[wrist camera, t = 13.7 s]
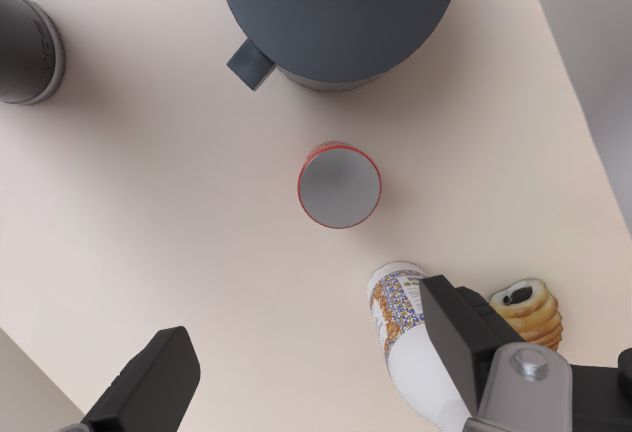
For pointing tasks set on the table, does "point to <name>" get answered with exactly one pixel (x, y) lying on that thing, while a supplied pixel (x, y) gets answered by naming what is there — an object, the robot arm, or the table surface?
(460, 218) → the table surface
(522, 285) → the pastry
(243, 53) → the pot
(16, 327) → the table surface
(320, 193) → the tomato can
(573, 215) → the table surface
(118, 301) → the table surface
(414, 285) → the bath foam
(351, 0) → the pot lid
